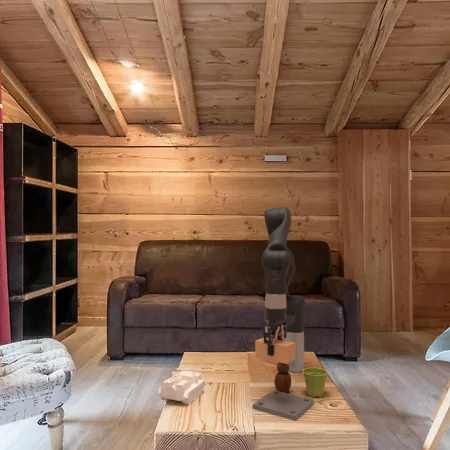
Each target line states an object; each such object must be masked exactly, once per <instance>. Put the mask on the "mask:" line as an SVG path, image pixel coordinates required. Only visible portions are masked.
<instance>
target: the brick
mask: <svg viewBox="0 0 450 450" xmlns="http://www.w3.org/2000/svg"><path fill="white" fill-rule="evenodd" d="M271 340H272V338H271ZM254 345H255V348H254V349H255V352H254V353H255V355H254V356H255V357H254V358H257V359H261V360H266V361H272V362H276V363H279V362H280V363H285V364H289V363H290V362H292V361H294V360H296V343H295V342H289V341H283V340H277V338H276V339H275V341H274V355H273V356H269V355H268V345H267V344H265V343H264V337H262V338H259V339H256V340H255V343H254Z"/></svg>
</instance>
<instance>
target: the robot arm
mask: <svg viewBox="0 0 450 450" xmlns="http://www.w3.org/2000/svg"><path fill="white" fill-rule="evenodd" d="M264 222H265V227H266V231H267V236H268V240H267V241H268V242H267V247H266V248H265V249H264V250H263V253H262V255H261V259H260V263H261V266H262V268H264V269H265V270H267V271H274V273H275V275H273V276H268V277H267V278H266V282H265V298H264V300H265V302H264V305H265V308H264V318H265V320H266V321H267V322H268V324H267V326H263V327H262V330H263V332H262V333H263V338H264V343H265V344H267V345H268V355H269V356H273V355H274V341H275V339H277V340H283V341H289V342H295V343H296V360H294V361H292V362H290V363H289V371H288V372H289V373H299V372H300V373H302V372H303V369H305V364H304V363H305V323H306V322H305V317H306V301H305V300H306V299H305V298H304V297H303V296H301V295H293V294H289V284H290V282H291V280H292V279H293V277H294V275H295V271H296V264H295V257H294V254H293V253H292V251H291V250H290V248H289V247H288V246H287V240H288V236H289V234H290V230H291V226H292V216H291V211H290V209H289V208H288V207H284V206H283V207H282V206H281V207H275V208H268V209H266V210H265V211H264ZM287 316H291V317H292V316H293V317H294V319H293V321H289V322H287V321H286V319H287ZM271 339H272V340H271Z"/></svg>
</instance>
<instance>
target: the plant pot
mask: <svg viewBox="0 0 450 450" xmlns="http://www.w3.org/2000/svg"><path fill="white" fill-rule="evenodd" d="M302 373H303V376H304V379H305V388H306V393H307V395H308V396H309V395H310V397H312V396H313V398H315V397H316V398H317V397H319V398H322V397H323V396H324V393H325V386H326V385H325V384H326V378H327V375H328V374H329V373H328V371H327V370H326V369H324V368H319V367H306V368H305V367H304V369H303V371H302Z"/></svg>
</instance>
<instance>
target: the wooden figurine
mask: <svg viewBox="0 0 450 450" xmlns="http://www.w3.org/2000/svg"><path fill="white" fill-rule="evenodd" d="M276 370H277V373H276V374H275V376H274V387H275V390H278V391H279V392H283V393H288V394H289V392H290V390H291V386H292V375H291V373H290V371H289V364H285V363H280V362H277V366H276Z"/></svg>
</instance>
